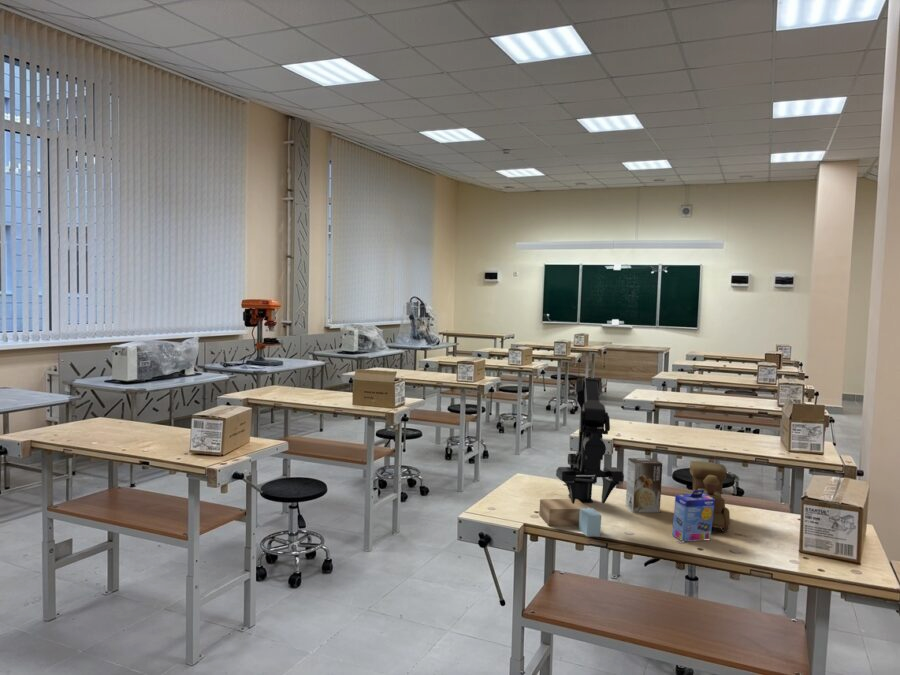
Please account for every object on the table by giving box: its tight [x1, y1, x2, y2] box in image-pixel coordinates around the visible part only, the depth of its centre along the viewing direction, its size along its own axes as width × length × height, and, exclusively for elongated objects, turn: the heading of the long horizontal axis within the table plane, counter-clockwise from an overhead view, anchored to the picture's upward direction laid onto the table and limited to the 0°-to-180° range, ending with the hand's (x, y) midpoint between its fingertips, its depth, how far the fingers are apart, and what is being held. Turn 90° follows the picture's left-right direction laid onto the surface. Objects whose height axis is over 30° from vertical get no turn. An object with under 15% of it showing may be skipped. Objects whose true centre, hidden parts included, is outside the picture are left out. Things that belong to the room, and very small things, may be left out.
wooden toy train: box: [689, 460, 731, 532], centre depth 190 cm, size 20×11×17 cm, turn 163°
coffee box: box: [625, 457, 664, 513], centre depth 200 cm, size 9×6×16 cm
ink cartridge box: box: [671, 490, 715, 542], centre depth 177 cm, size 10×6×14 cm, turn 108°
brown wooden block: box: [538, 498, 588, 527], centre depth 186 cm, size 12×9×5 cm
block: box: [578, 507, 602, 537], centre depth 177 cm, size 4×6×6 cm
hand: (588, 503), depth 181 cm, fingers open, 9 cm apart
